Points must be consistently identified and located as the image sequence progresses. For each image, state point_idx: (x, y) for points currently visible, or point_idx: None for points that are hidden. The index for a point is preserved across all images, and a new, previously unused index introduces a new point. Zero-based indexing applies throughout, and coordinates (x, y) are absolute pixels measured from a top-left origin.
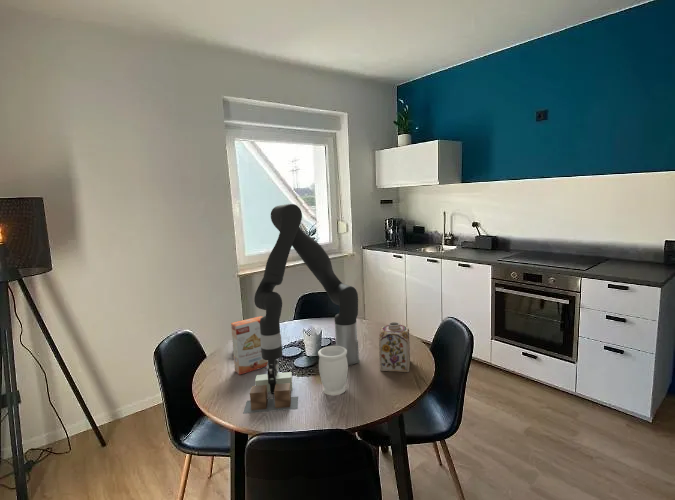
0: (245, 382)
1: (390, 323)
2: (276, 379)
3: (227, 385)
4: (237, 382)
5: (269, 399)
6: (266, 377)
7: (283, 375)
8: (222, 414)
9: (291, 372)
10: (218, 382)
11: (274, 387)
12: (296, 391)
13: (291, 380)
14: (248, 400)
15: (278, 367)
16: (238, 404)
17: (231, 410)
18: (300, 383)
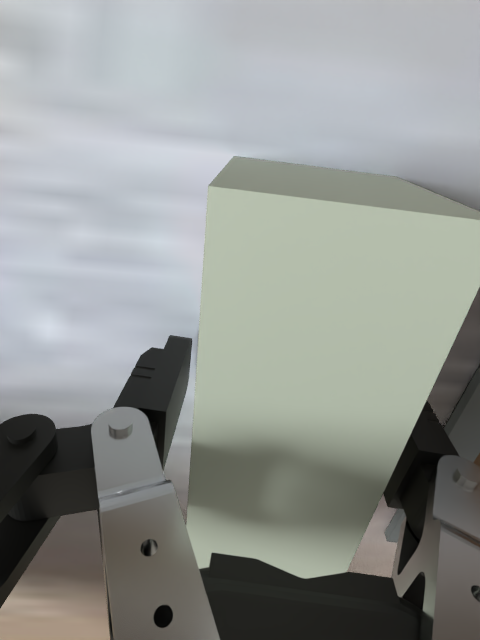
0: (87, 526)
1: None
2: (390, 458)
3: None
4: (81, 558)
5: (470, 420)
6: (284, 553)
7: (322, 366)
8: None
9: (241, 192)
10: (70, 619)
11: (440, 432)
12: (436, 116)
13: (470, 209)
14: (390, 534)
15: (166, 521)
16: (391, 566)
17: None
18: (216, 14)
